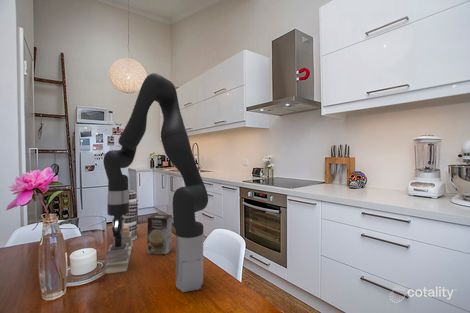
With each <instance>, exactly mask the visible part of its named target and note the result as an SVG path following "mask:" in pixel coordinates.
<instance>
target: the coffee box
mask: <svg viewBox="0 0 470 313" xmlns="http://www.w3.org/2000/svg"><path fill="white" fill-rule="evenodd" d="M172 220H173V214H162V213H160V214H158V213H153V214H151V215H149V216H148V217H147V241H146V242H147V244H146V245H147V248H146V249H147V250H146V251H147V252H146V254H148V255H161V254H165V256H166V254H167V253H168V254H169V253H170V252H171V251H172V235H173V234H172V228H173V227H172V225H173V223H172V222H173V221H172ZM168 254H167V255H168Z"/></svg>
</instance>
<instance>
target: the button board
mask: <svg viewBox="0 0 470 313" xmlns="http://www.w3.org/2000/svg"><path fill="white" fill-rule="evenodd" d="M122 243H125V249H118V250H111V248H112V246H113V244H115V237H114V236H113V244H110V245H109V247H108V249H107V252H106V256H107V258H106V259H107V260H106V261H107V262H106V264H105V275H106V274H108V275H109V274H114V273H115V274H116V273H121V272H127V271H128V267H129V263H130V258H131V254H132V249H133V240H132V232H129V236H125V237H122Z"/></svg>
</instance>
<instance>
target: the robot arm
mask: <svg viewBox="0 0 470 313" xmlns="http://www.w3.org/2000/svg"><path fill="white" fill-rule="evenodd" d="M154 102H157V103H158V105H159V107H160V109H161V113H162V117H163V120H162V124H161V131H160V140H161V144H162V147H163V150H164V153H165V155H166V158H167V159H168V160H169V161H170V162H171V164H172V165H173V166H174V167H175V168H176V169H177V171H179V173H180V175H181V177H182V180H183V182H184V185H185V186H181V187H178V188H177V189H176V190H174V192H173V196H172V220H173V221H172V222H173V223H172V224H173V225H174V229H175V287H176V288H177V289H178V290H179V291H180V292H181V293H187V292H191V291H192V292H193V291H198V290H201V289H202V286H203V284H204V224H203V223H202V222H200V221H196V213H198V212H201V211H202V210H204V209H206V208H207V206H208V203H209V194H208V191H207V189H206V186H205V183H204V181H203V178H202V176H201V174H200V171H199V169H198V165H197V163H196V159H195V156H194V153H193V150H192V146H191V142H190V139H189V136H188V132H187V130H186V127H185V123H184V119H183V116H182V114H181V109H180V104H179V98H178V93H177V89H176V85H175V84H174V83H173V82H172V81H170V80H169V79H168V78H165V77H164V76H162V75H161V74H158V73H155V72H154V73H153V72H152V73H149V74H148V75H147V76H146V77H145V78H144V80H143V82H142V84H141V86H140V89H139V93H138V95H137V98H136V100H135V103H134V105H133V109H132V112H131V115H130V117H129V120H128V122H127V123H126V125H125V127H124V128H123V130H122V132H121V134H120V136H119V138H118V144H119V145H120V146H121V148H120V149H119V150H118V149H117V150H116V149H115V150H108V151H106V153H105V154H104V157H103V160H102V162H103V167H104V170H105V174H106V177H107V180H108V181H107V182H108V183H107V189H108V190H107V209H106V210H107V215H108V216H109V217H112V216H113V218H112V220H111V224H112V227H111V230H112V235H113V238H114V237H115V247H119V246H121V245H122V234H123V233H122V232H123V228H124V221H125V218H124V217H123V215H125V214H127V213H129V191H128V189H129V177H128V175H126V174H123V171H122V169H126V168H128V167H130V166H131V164H132V163H133V161H134V159H135V157H136V152H137V148H138V146H139V144H140V142H141V141H142V140H143V137H144V136H145V134H146V130H147V124H148V123H147V122H148V121H147V119H148V113H149V110H150V109H151V106H152V105H153V103H154Z"/></svg>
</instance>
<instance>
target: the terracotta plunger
mask: <svg viewBox="0 0 470 313" xmlns="http://www.w3.org/2000/svg"><path fill="white" fill-rule="evenodd" d="M122 233H123V234H122V237H125V236H129V225H125V226H124V228H123V232H122Z"/></svg>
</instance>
